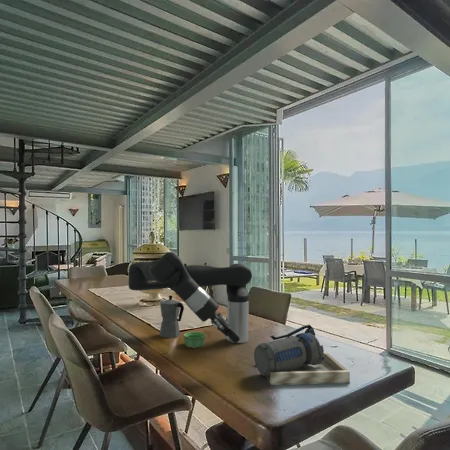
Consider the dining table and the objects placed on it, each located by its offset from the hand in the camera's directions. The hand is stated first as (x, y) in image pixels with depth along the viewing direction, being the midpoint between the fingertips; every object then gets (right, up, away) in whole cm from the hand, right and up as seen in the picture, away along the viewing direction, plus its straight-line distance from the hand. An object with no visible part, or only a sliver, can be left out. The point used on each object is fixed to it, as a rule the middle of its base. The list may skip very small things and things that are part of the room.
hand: (237, 340), depth 114 cm
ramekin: (-17, -12, +30) cm, 36 cm away
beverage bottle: (+7, -5, -3) cm, 9 cm away
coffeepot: (-28, -12, +42) cm, 52 cm away
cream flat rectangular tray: (+21, -11, +2) cm, 24 cm away
